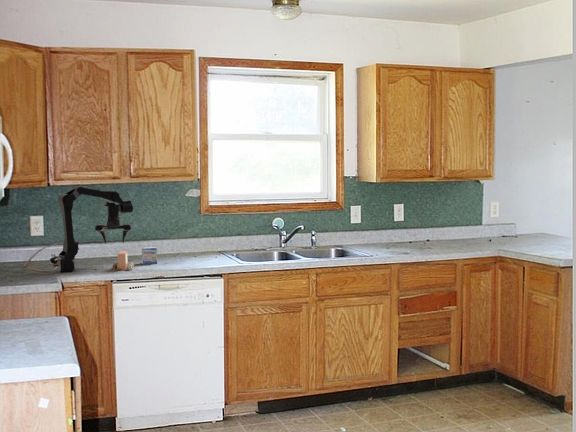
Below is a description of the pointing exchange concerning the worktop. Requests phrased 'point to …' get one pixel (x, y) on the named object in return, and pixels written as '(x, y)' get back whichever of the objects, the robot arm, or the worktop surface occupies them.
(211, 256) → the worktop surface
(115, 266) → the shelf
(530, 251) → the worktop surface
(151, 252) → the medicine box
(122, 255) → the box
